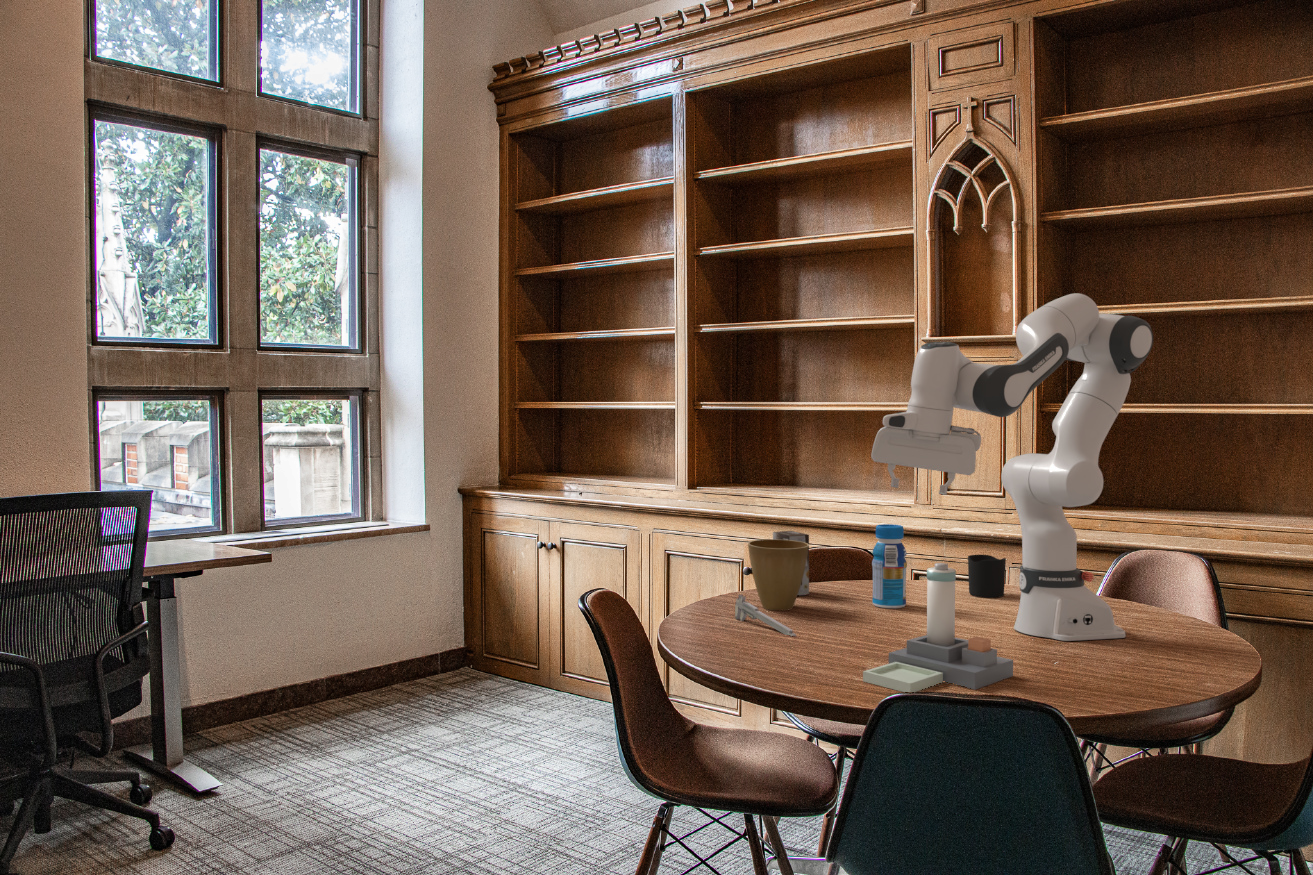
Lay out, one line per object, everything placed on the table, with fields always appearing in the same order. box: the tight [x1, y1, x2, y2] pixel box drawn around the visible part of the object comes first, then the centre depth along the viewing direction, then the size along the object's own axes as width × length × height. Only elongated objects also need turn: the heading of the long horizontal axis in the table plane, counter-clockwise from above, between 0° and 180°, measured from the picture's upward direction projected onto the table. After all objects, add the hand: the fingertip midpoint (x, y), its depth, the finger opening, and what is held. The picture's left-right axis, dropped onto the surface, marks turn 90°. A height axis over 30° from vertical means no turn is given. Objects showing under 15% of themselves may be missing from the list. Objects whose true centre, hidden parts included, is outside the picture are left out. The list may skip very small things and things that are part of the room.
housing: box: [888, 634, 1014, 691], centre depth 177 cm, size 13×18×6 cm
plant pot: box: [747, 538, 810, 611], centre depth 235 cm, size 15×15×16 cm
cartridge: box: [926, 562, 957, 647], centre depth 179 cm, size 5×5×17 cm
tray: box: [862, 662, 944, 693], centre depth 171 cm, size 10×10×2 cm
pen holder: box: [967, 554, 1007, 599], centre depth 251 cm, size 9×9×10 cm
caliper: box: [734, 594, 797, 637], centre depth 214 cm, size 20×1×6 cm, turn 33°
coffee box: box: [772, 530, 810, 596], centre depth 254 cm, size 9×6×16 cm
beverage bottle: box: [871, 523, 908, 609], centre depth 237 cm, size 8×8×20 cm
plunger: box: [967, 636, 992, 652], centre depth 173 cm, size 3×3×3 cm
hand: (918, 490), depth 191 cm, fingers open, 8 cm apart
